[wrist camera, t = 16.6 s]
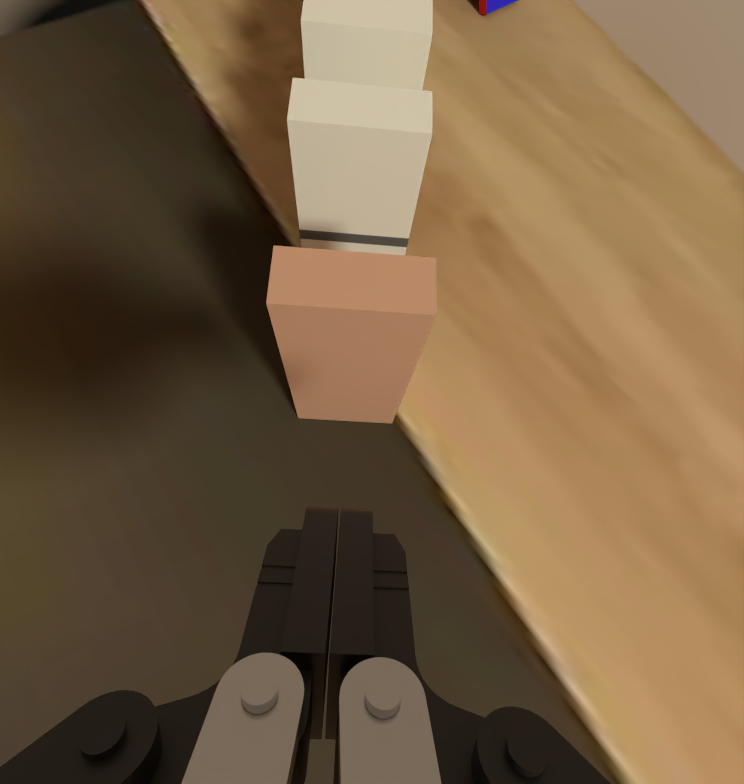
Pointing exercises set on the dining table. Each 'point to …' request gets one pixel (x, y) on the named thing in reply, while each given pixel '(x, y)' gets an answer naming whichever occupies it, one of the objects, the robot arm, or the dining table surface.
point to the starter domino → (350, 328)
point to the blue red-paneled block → (492, 5)
